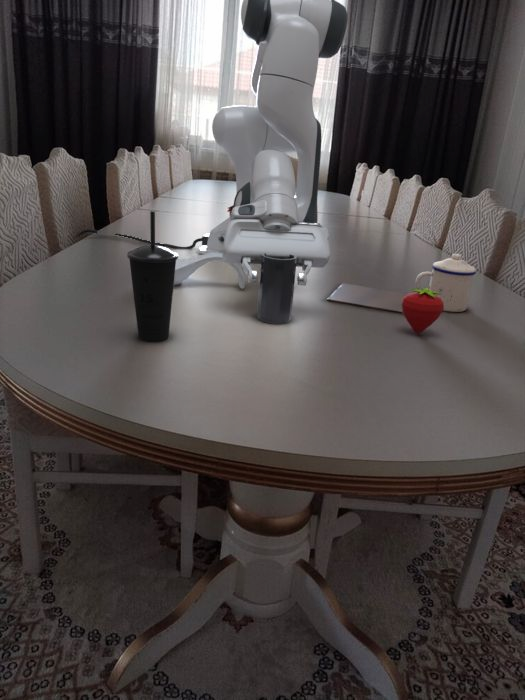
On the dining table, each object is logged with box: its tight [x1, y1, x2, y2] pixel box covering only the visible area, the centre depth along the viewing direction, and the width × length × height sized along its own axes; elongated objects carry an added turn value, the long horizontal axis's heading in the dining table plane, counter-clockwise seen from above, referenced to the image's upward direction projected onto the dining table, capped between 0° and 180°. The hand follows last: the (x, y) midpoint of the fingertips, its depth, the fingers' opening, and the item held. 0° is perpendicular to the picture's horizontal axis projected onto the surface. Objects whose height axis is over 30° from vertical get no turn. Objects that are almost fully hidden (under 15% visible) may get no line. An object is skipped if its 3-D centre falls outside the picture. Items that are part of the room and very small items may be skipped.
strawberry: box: [401, 280, 444, 334], centre depth 95 cm, size 6×8×10 cm
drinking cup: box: [126, 211, 179, 343], centre depth 81 cm, size 8×8×20 cm
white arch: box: [174, 253, 246, 290], centre depth 116 cm, size 24×12×7 cm, turn 91°
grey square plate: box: [326, 283, 409, 314], centre depth 117 cm, size 16×16×1 cm
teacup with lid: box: [415, 253, 477, 313], centre depth 113 cm, size 12×9×12 cm
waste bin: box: [256, 253, 297, 325], centre depth 96 cm, size 6×6×12 cm
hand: (277, 282), depth 95 cm, fingers open, 8 cm apart
